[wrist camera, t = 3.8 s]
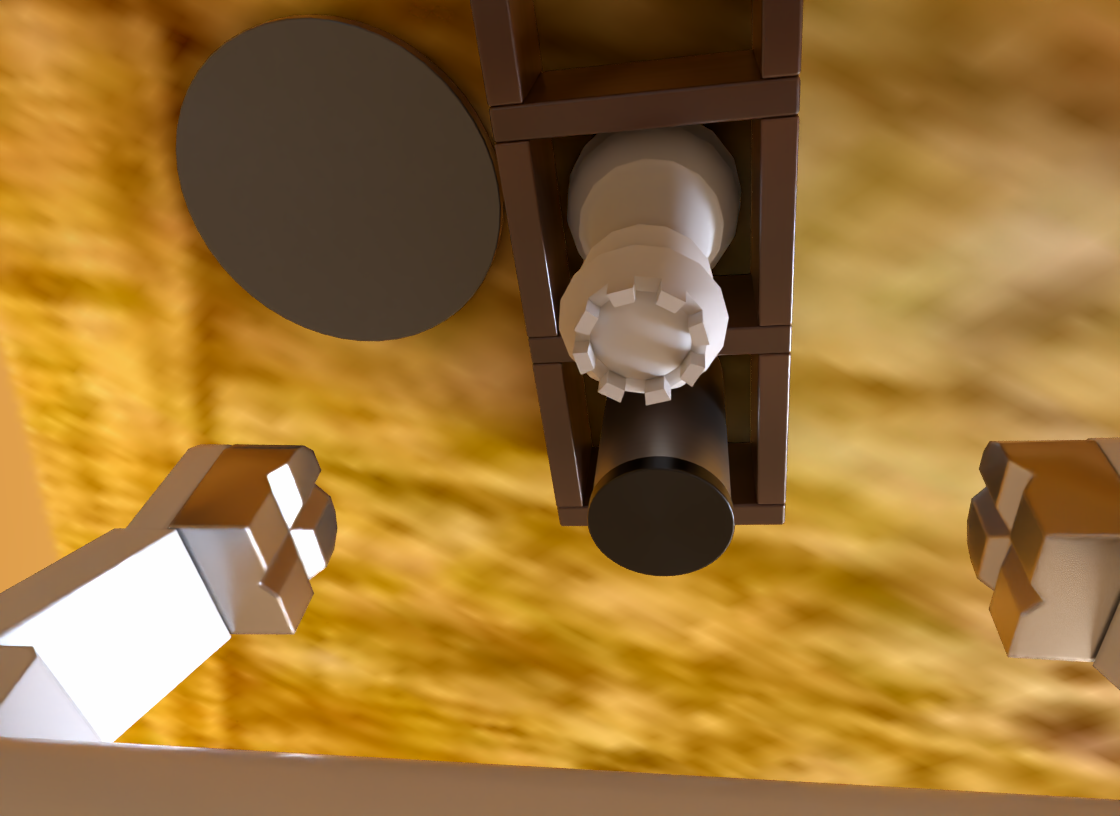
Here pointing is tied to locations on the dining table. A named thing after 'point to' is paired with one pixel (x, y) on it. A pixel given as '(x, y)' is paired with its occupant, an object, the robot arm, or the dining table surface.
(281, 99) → the coaster
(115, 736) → the robot arm
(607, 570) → the dining table surface
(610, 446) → the spice tin
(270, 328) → the dining table surface
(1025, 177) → the dining table surface
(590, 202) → the rook chess piece
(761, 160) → the spice rack
